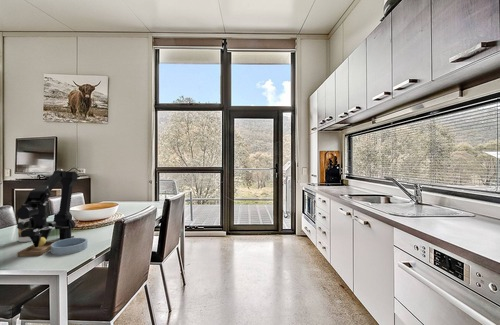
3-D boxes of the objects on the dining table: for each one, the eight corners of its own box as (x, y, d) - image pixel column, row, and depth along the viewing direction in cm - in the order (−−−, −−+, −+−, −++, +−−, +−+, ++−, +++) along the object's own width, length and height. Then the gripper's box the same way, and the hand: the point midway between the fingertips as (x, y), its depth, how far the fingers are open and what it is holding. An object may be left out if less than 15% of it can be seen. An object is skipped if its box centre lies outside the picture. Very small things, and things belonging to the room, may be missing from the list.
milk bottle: (22, 239, 155) (21, 204, 154) (38, 237, 158) (37, 203, 157) (15, 243, 148) (15, 207, 147) (32, 241, 150) (32, 206, 150)
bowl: (61, 245, 144) (61, 238, 144) (92, 244, 146) (92, 237, 146) (43, 256, 129) (43, 248, 129) (78, 254, 131) (78, 246, 131)
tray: (39, 246, 143) (38, 241, 143) (59, 245, 144) (59, 241, 144) (17, 257, 127) (17, 252, 127) (40, 256, 128) (40, 251, 128)
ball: (37, 245, 138) (37, 235, 137) (48, 244, 138) (48, 235, 138) (31, 248, 133) (30, 238, 132) (42, 248, 133) (42, 238, 133)
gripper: (33, 211, 143) (34, 240, 144) (7, 219, 125) (8, 252, 125) (56, 210, 145) (57, 239, 145) (33, 218, 126) (34, 251, 127)
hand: (39, 245), depth 135 cm, fingers closed on ball, 5 cm apart
